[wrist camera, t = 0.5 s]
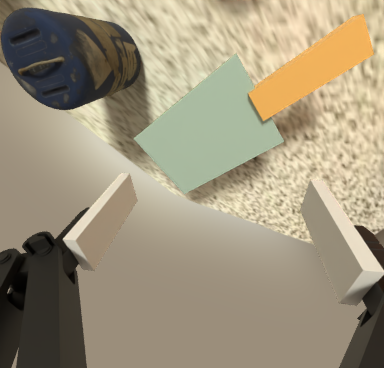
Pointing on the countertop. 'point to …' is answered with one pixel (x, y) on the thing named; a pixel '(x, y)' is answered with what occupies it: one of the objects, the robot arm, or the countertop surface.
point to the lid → (244, 109)
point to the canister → (68, 57)
